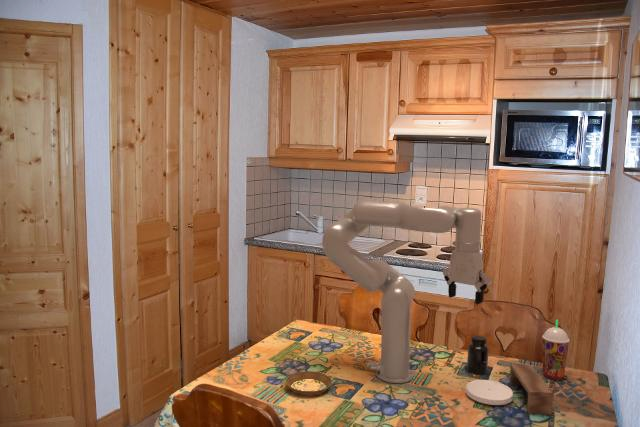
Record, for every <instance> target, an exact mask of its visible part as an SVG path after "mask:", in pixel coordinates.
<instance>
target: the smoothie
mask: <svg viewBox="0 0 640 427" xmlns="http://www.w3.org/2000/svg"><path fill="white" fill-rule="evenodd" d="M558 325H559V319H555V326H553V327H550V328H547V330H545V332H544V333H543V334H542V373H543V376H544V377H545V378H547V379H549V380H553V381H559V380H562V379H563V377H564V376H565V372H566V364H567V358H568V351H569V343H570V339H569V336H568V334H567V332H566V331H565V330H564V329H562V328H560V327H558Z"/></svg>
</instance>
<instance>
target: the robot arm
mask: <svg viewBox="0 0 640 427" xmlns="http://www.w3.org/2000/svg"><path fill="white" fill-rule="evenodd" d="M369 227H383V228H394V229H401V230H408V231H414V232H420V233H421V232H422V233H424V232H425V233H433V234H434V233H435V234H436V233H437V234H445V233H447V232H450V231H451V230H452V229H455V241H452V246H454V249H452V251H451V256H450V259H449V265H448V266H449V267H446V268H444V269H442V270H441V272H442V275H443V276H444V280H445V282H446V285H448V298H453V297H456V296H457V284H456V283H458V284H463V285H469V286H474V288H475V289H476V291H475V295H474V296H475V297H474V303H475V305H479V304H482V303H483V301H484V291H486V289H488V288H489V287H490V284H491V283H492V281H493V279H492V277H490V276H488V274H486V273H484V261H483V254H482V252H481V249H480V248H481V233H482V232H481V228H482V211H481V210H480V209H478V208H474V207H454V206H448V205H441V206H439V207H437V208H429V207H419V206H412V205H409V204H407V203H405V202H400V201H385V200H384V201H383V200H376V199H374V198H370V197H367V198H362V199H360V200H358V201H356V203H354V204H353V206H352V209H351V210H350V211H349V212H348V213H346V214H345V215H344V216H342V217H341V218H340V219H338V220H336V221H333V222H331V223H330V224H329V225H327V227H326V228H325V229H324V232H323V235H322V238H321V239H322V240H321V242H322V248H323V252H324V254H325V256H326V258H328V260H330V262H331V263H332V264H333V265H334V266H336V267H337V268H339V269H340V270H341V271H342V272H343V273H345V274H346V275H347V276H348V277H350V278H351V280H353V281H354V282H355V283H356V284H358V285H359V286H360V287H361V288H363V289H364V290H365V291H367V292H370V293H374V292H377V291H380V292H381V293H382V296H381V299H380V309H381V337H380V338H381V343H380V344H381V345H380V348H381V349H380V358H379V359H378V361H376V362H375V361H374V362H372V361H367V362H366V364H367V366H366V368H369V369H370V371H375V376H376V377H377V378H378V379H380V380H381V381H384V382H386V383H390V384H391V383H392V384H404V383H408V382H410V381H412V380H413V378H414V372H413V371H412V370H411V369H410V350H411V348H410V347H411V346H410V345H411V309H412V308H411V307H412V302H413V300H414V298H415V295H416V291H415V290H416V289H415V287H414V285H413V283H412V282H411V281H410V280H409V279H408V278H407V277H405V276H404V275H403V274H401V273H400V272H399V271H398V270H396V269H395V268H394V267H393V266H392V265H390V264H389V263H387V262H386V261H384V260H381V259H376V258H375V259H371V260H369V259H368V258H367V257H365V255H363V254H362V253H361V252H360V251H358V250H357V249H355V248H353V247H352V246H350V244H349V243H350V242H351V241H353V240H354V239H355V238H356V237H358V236H359V235H361V234H362V233H363V232H364V231H365V230H367V229H368V228H369ZM483 281H484V282H483Z"/></svg>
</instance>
